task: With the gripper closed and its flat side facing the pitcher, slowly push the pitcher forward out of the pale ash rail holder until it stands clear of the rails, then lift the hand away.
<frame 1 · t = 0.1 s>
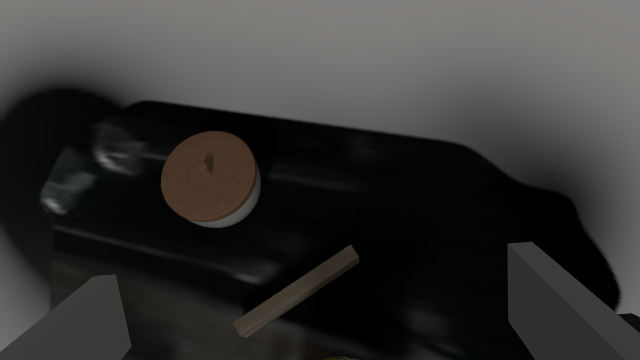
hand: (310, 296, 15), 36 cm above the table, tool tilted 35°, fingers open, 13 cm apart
lidded jar: (228, 197, 56), on the table
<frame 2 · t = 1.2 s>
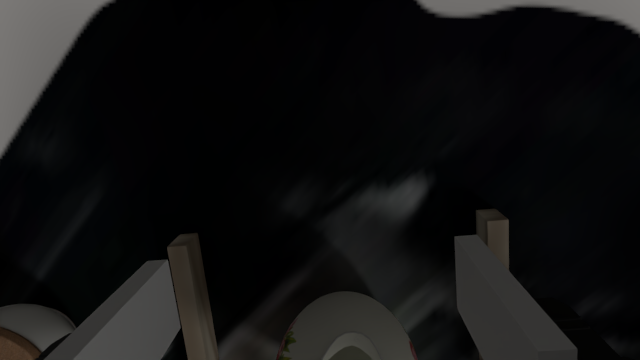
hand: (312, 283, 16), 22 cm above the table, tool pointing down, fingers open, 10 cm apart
lidded jar: (49, 334, 42), on the table
pitcher: (345, 334, 41), on the table
rail holder: (341, 301, 40), on the table
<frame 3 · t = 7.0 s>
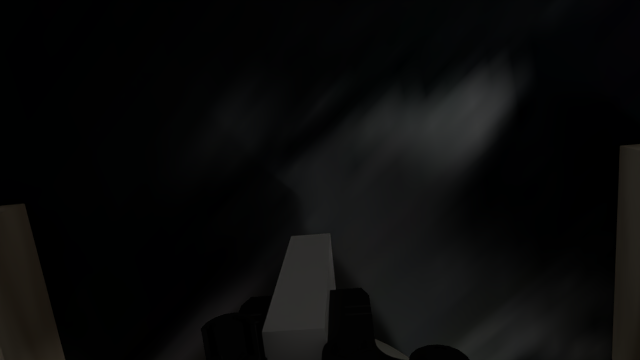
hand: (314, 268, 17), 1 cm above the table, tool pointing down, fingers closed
rail holder: (327, 343, 19), on the table
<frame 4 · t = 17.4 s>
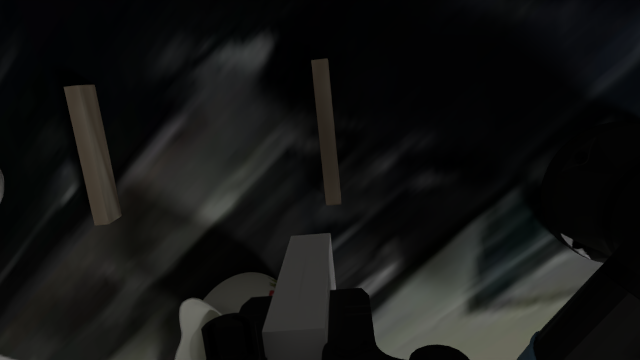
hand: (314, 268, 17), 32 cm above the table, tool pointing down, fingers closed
pitcher: (260, 305, 53), on the table
rail holder: (212, 142, 49), on the table
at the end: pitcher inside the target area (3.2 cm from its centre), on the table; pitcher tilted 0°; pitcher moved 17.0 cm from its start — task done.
